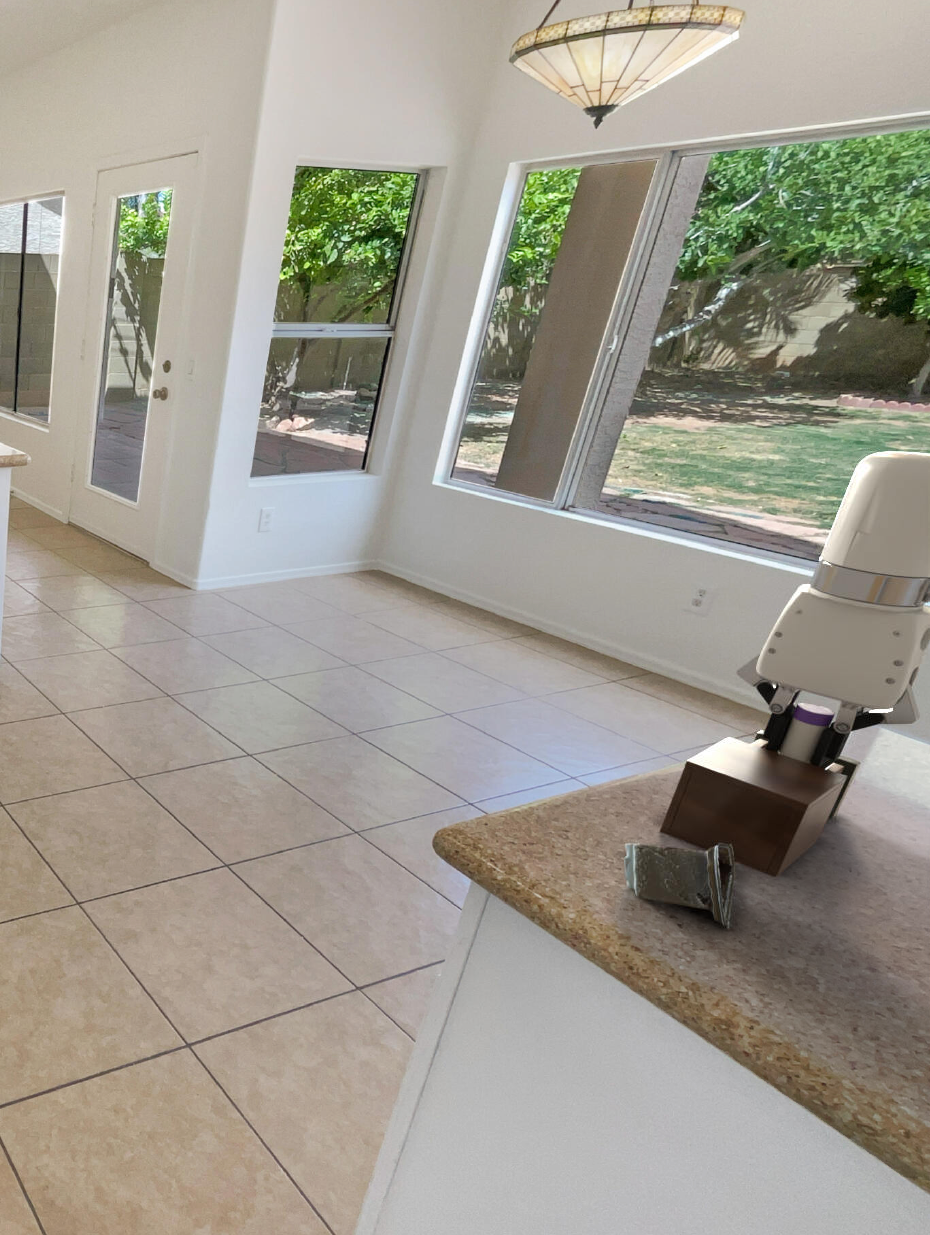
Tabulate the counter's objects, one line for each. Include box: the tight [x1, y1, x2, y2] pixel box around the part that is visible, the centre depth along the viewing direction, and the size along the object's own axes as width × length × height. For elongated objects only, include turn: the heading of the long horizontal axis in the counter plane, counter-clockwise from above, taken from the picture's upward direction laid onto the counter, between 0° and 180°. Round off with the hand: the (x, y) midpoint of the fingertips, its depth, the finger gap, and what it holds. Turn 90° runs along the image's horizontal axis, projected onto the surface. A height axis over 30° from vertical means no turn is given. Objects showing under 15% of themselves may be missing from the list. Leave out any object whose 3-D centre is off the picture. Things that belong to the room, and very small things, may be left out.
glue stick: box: [778, 702, 836, 763], centre depth 85 cm, size 3×3×6 cm
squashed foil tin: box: [623, 843, 736, 930], centre depth 77 cm, size 10×7×12 cm
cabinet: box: [659, 736, 847, 878], centre depth 84 cm, size 10×9×8 cm
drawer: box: [751, 730, 862, 820], centre depth 88 cm, size 14×8×7 cm, turn 120°
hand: (797, 753), depth 86 cm, fingers closed on glue stick, 2 cm apart
